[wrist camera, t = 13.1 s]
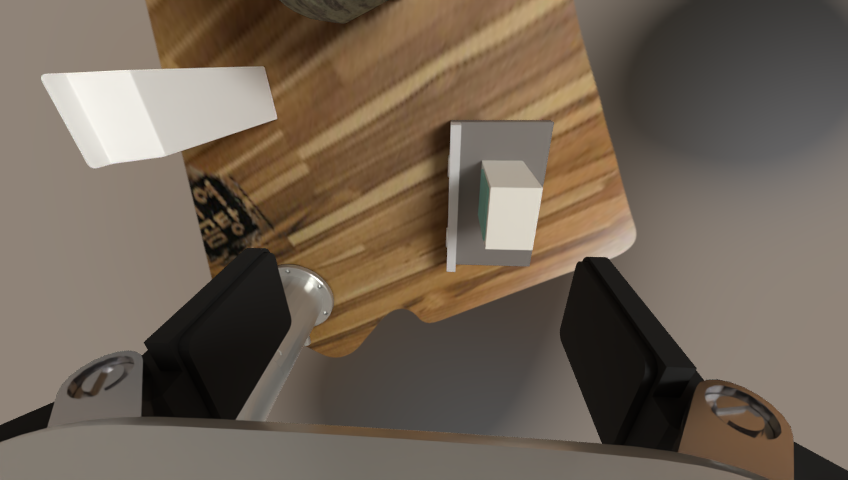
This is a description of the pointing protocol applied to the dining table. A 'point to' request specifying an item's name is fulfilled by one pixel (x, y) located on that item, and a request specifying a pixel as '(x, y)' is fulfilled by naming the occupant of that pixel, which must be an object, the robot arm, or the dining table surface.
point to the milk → (157, 109)
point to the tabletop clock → (332, 8)
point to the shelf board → (464, 173)
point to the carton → (508, 205)
